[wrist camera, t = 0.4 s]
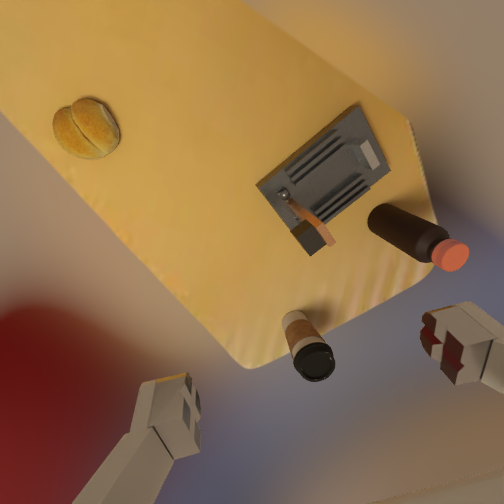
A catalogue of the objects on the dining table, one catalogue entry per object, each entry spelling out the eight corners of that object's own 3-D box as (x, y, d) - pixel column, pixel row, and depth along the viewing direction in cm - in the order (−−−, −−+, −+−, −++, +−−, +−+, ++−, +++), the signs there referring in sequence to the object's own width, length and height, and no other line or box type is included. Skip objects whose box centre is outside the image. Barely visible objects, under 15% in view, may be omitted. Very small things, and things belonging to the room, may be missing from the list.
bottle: (378, 238, 66) (448, 284, 48) (360, 221, 63) (428, 262, 46) (400, 216, 65) (481, 254, 47) (384, 197, 62) (463, 229, 44)
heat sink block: (294, 236, 62) (305, 248, 56) (255, 184, 56) (263, 192, 50) (381, 168, 59) (402, 173, 53) (350, 106, 53) (370, 105, 47)
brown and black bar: (284, 226, 57) (313, 259, 44) (272, 211, 55) (298, 241, 42) (301, 212, 56) (336, 242, 43) (290, 196, 54) (322, 222, 41)
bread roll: (45, 118, 45) (33, 118, 42) (97, 92, 45) (89, 90, 41) (81, 168, 49) (73, 172, 45) (129, 144, 49) (124, 146, 45)
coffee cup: (287, 340, 73) (309, 390, 60) (270, 319, 70) (290, 367, 56) (315, 322, 73) (344, 368, 59) (300, 300, 69) (327, 344, 56)
